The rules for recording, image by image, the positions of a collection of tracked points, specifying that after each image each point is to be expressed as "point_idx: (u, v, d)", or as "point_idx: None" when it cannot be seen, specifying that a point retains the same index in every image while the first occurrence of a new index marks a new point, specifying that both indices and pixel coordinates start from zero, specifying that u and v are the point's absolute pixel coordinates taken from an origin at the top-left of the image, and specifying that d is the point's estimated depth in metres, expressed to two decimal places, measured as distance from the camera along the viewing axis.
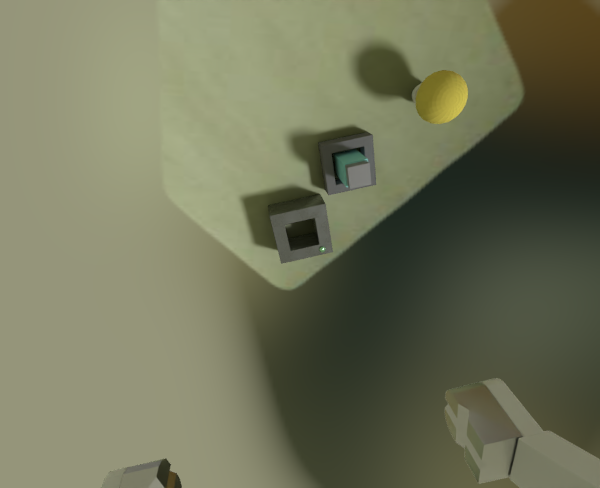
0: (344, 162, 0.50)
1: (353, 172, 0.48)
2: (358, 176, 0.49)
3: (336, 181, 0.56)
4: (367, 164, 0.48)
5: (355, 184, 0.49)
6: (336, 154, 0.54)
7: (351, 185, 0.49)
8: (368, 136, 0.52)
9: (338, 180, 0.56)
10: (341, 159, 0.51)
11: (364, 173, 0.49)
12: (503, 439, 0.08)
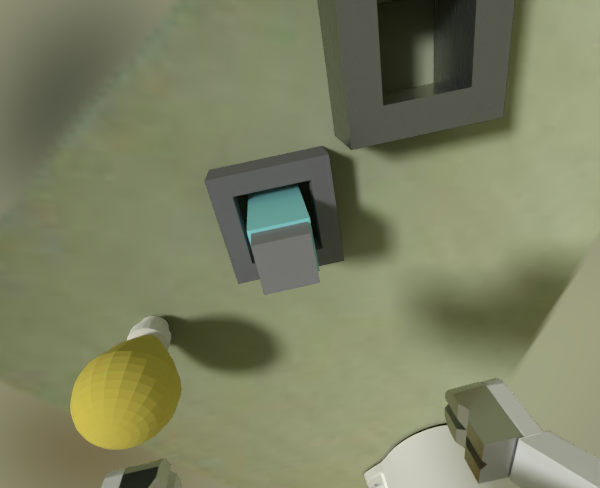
0: None
1: (304, 273, 0.19)
2: (289, 264, 0.19)
3: None
4: (269, 291, 0.19)
5: (296, 245, 0.18)
6: None
7: (306, 242, 0.18)
8: (246, 280, 0.25)
9: None
10: None
11: (274, 271, 0.19)
12: (503, 439, 0.08)
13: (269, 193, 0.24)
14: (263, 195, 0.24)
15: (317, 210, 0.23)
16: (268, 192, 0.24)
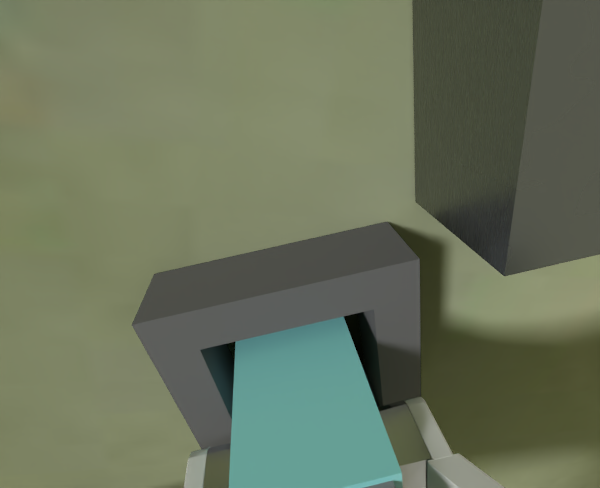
0: None
1: None
2: None
3: None
4: None
5: None
6: None
7: None
8: None
9: None
10: None
11: None
12: (413, 461, 0.08)
13: None
14: None
15: (381, 360, 0.11)
16: None
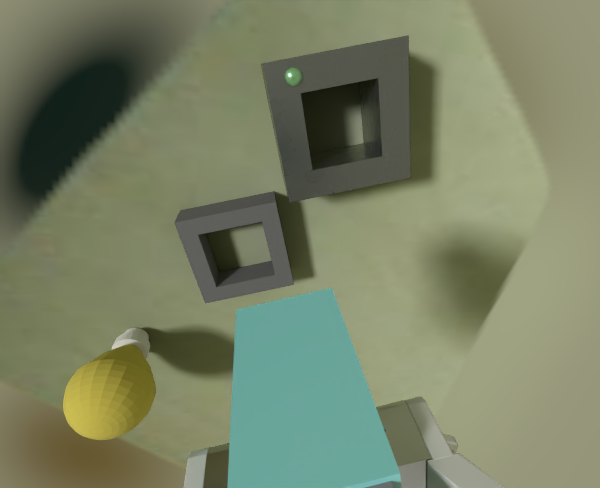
0: None
1: None
2: None
3: None
4: None
5: None
6: None
7: None
8: (211, 300, 0.30)
9: None
10: None
11: None
12: (413, 461, 0.08)
13: (279, 320, 0.12)
14: (266, 325, 0.11)
15: (268, 245, 0.28)
16: (276, 315, 0.12)
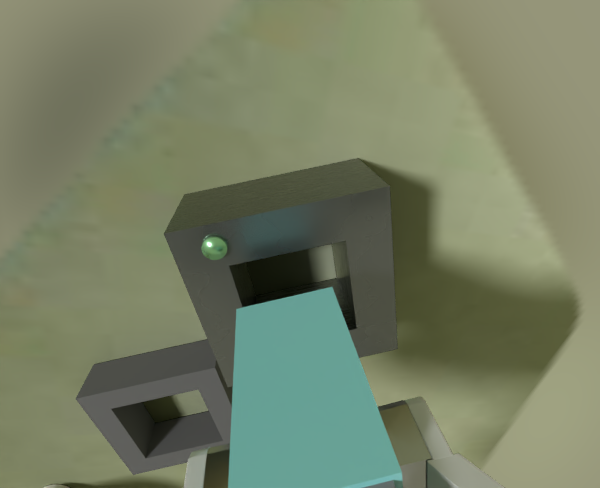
0: None
1: None
2: None
3: None
4: None
5: None
6: None
7: None
8: (141, 470, 0.23)
9: None
10: None
11: None
12: (413, 461, 0.08)
13: (280, 319, 0.11)
14: (267, 324, 0.11)
15: (211, 412, 0.21)
16: (277, 314, 0.12)
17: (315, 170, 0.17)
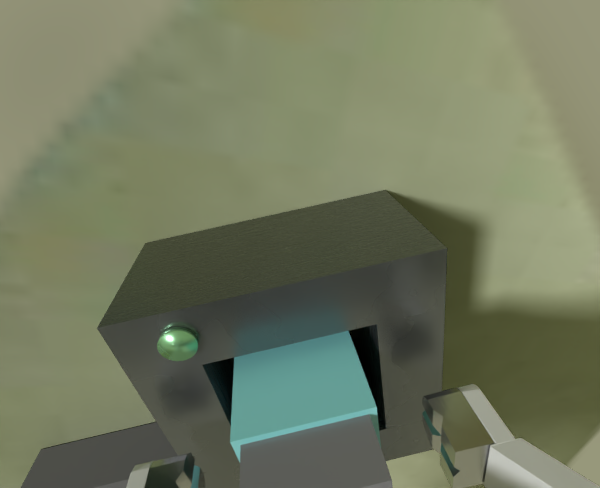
0: None
1: None
2: None
3: None
4: None
5: None
6: None
7: None
8: None
9: None
10: None
11: None
12: (475, 446, 0.08)
13: None
14: None
15: None
16: None
17: (327, 209, 0.12)
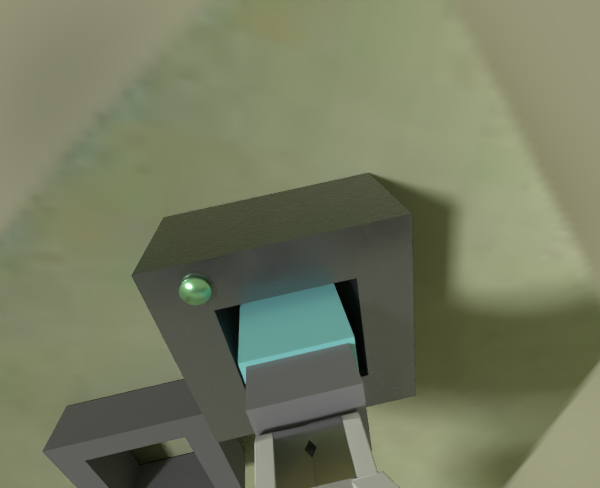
0: None
1: None
2: None
3: None
4: None
5: (333, 402, 0.09)
6: None
7: (354, 396, 0.09)
8: None
9: None
10: None
11: None
12: (339, 480, 0.08)
13: None
14: None
15: (200, 460, 0.19)
16: None
17: (318, 188, 0.14)
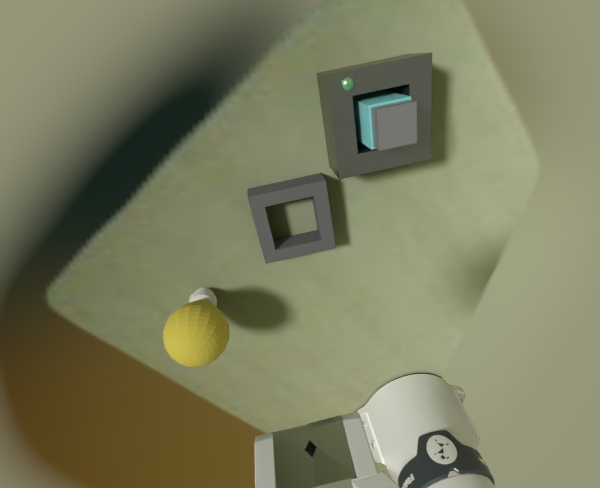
0: None
1: (407, 134, 0.28)
2: (399, 126, 0.27)
3: None
4: (382, 148, 0.28)
5: (405, 110, 0.27)
6: None
7: (413, 108, 0.27)
8: (271, 261, 0.38)
9: None
10: None
11: (388, 131, 0.27)
12: (339, 480, 0.08)
13: (366, 95, 0.32)
14: (362, 96, 0.32)
15: (318, 215, 0.36)
16: (364, 95, 0.33)
17: None
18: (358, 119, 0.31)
